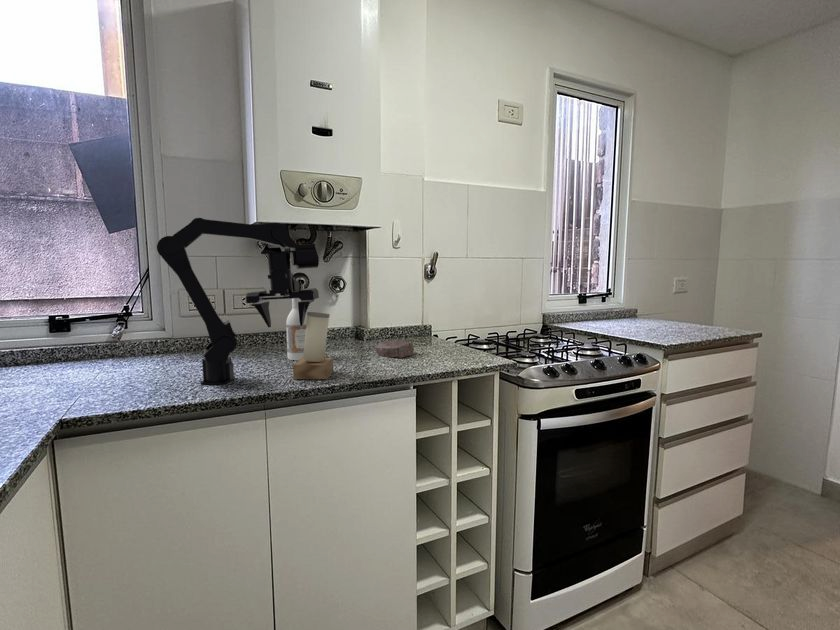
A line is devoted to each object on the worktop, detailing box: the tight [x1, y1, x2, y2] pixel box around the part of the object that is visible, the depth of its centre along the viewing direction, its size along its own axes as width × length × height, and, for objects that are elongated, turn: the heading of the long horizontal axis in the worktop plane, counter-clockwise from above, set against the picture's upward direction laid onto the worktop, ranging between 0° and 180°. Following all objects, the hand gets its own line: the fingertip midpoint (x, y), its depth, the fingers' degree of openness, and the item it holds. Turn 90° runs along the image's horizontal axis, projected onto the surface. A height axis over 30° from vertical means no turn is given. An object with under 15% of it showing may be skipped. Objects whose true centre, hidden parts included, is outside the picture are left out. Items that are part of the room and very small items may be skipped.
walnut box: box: [292, 357, 335, 380], centre depth 121 cm, size 9×9×4 cm
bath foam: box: [285, 298, 307, 362], centre depth 141 cm, size 7×7×20 cm
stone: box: [374, 339, 415, 359], centre depth 148 cm, size 12×9×5 cm
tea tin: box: [303, 311, 330, 362], centre depth 121 cm, size 6×6×13 cm
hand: (285, 326), depth 122 cm, fingers open, 9 cm apart
